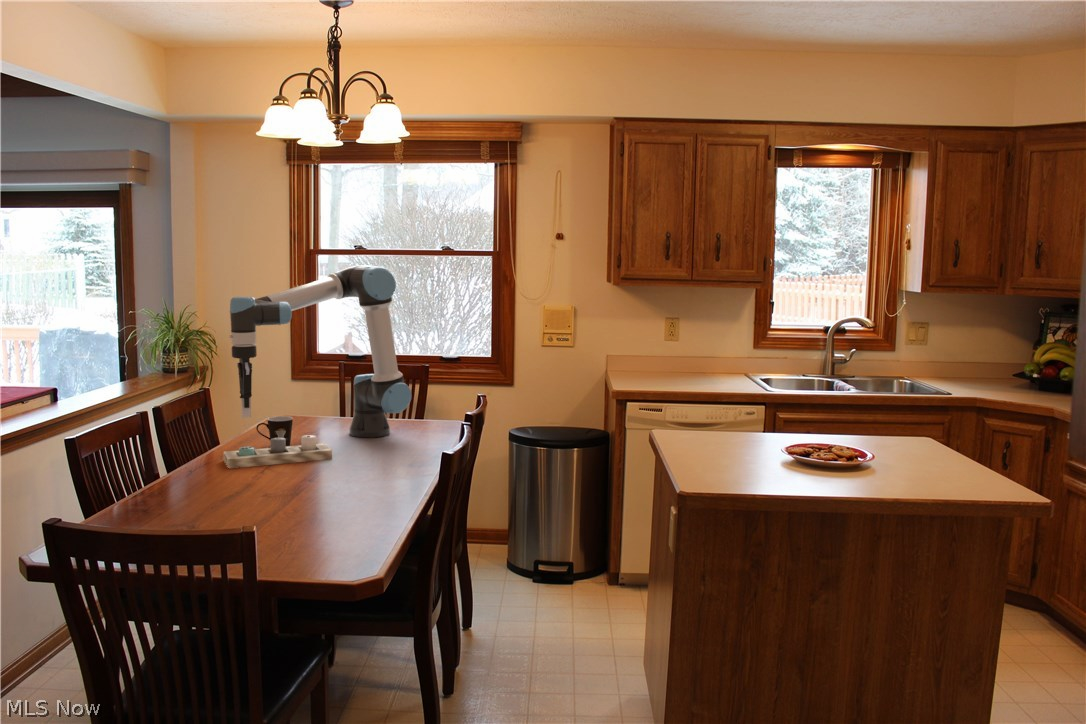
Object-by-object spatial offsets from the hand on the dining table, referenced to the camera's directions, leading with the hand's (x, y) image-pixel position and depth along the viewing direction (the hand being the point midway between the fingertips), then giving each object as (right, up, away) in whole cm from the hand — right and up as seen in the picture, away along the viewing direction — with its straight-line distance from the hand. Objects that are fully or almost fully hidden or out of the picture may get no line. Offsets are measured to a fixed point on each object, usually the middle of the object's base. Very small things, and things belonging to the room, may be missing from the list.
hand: (246, 417), depth 275 cm
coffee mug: (+2, -12, +25) cm, 28 cm away
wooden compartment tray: (+8, -15, +6) cm, 18 cm away
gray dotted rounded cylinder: (+8, -12, +6) cm, 16 cm away
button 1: (+17, -12, +11) cm, 23 cm away
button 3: (0, -15, +2) cm, 15 cm away
